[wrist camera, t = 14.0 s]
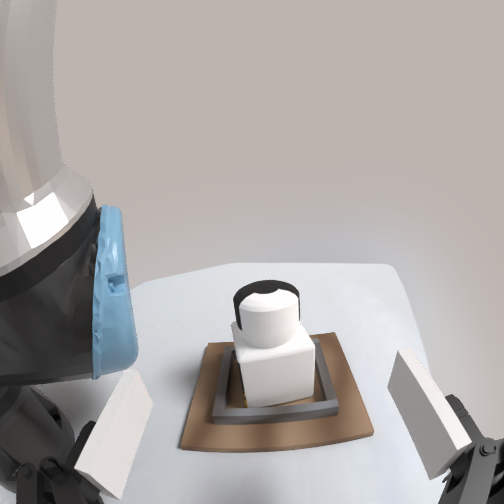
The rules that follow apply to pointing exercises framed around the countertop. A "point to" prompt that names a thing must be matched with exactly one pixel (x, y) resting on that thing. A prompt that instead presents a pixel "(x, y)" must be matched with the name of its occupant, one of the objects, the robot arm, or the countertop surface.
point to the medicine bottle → (272, 345)
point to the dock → (274, 407)
